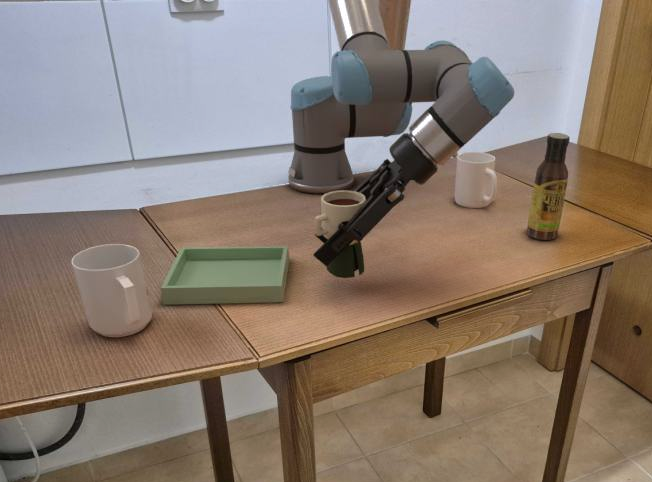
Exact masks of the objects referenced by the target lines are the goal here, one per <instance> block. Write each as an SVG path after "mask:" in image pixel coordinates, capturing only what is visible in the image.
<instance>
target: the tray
mask: <svg viewBox="0 0 652 482" xmlns="http://www.w3.org/2000/svg"><path fill="white" fill-rule="evenodd" d="M289 266H290V250H289V245H266V246H265V245H262V246H261V245H259V246H257V245H256V246H255V245H253V246H191V247H189V246H186V247H185V246H184V247H180V249H179V252H178V253H177V255H176V256H175V258H174V261H173V263H172V265H171V266H170V269H169V271H168V273H167V275H166V276H165V279H164V280H163V282H162V284H161V286H160V293H161V297H162V300H163V301H162V302H163V305H165V306H169V305H171V306H172V305H215V304H217V305H218V304H220V305H221V304H259V303H260V304H263V303H266V304H267V303H283V302H284V298H285V291H286V286H287V279H288V272H289Z"/></svg>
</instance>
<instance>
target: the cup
mask: <svg viewBox="0 0 652 482" xmlns="http://www.w3.org/2000/svg"><path fill="white" fill-rule="evenodd" d="M495 167H496V156H494V155H492V154H491V153H486V152H481V151H466V152H462V153H458V156H457V157H456V167H455V168H456V169H455V185H454V202H455V203H456V204H457V205H458V206H460V207H463V208H468V209H481V208H486V207H488V206H489V205H490V204H491V203H492V202H494V201H495V199H496V197H497V194H498V193H497V191H498V177H497V174H496V172H495V169H496V168H495Z"/></svg>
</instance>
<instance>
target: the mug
mask: <svg viewBox="0 0 652 482" xmlns="http://www.w3.org/2000/svg"><path fill="white" fill-rule="evenodd" d="M70 263H71V267H72V271H73V274H74V278H75V280H76V281H75V282H76V284H77V289H78V291H79V295H80V299H81V302H82V306H83V310H84V313H85V317H86V320H87V324H88V326H89V328H90V329H91V328H92V329H93V330H92V329H91V330H92V331H94V330H95V331H94V332H95V333H97V334H99V335H101V336H103V337H107V338H122V337H128V336H132V335H135V334H136V333H137V334H138V333H139V332H141V331H142V330H145V328H146V327H147V326H148V325H149V323H150V321H152V318H153V308H152V304H151V299H150V294H149V290H148V286H147V280H146V276H145V271H144V266H143V262H142V258H141V253H140V251H139V249H138V248H136V247H135V246H132V245H130V244H124V243H123V244H122V243H109V244H108V243H107V244H100V245H95V246H92V247H89V248H85V249H82V250H81V251H79V252H78V253H75V255H74V256H72V258H71V260H70ZM96 331H97V332H96ZM98 332H100V333H98ZM103 333H107V334H103ZM119 333H121V334H119Z"/></svg>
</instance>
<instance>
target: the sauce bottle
mask: <svg viewBox="0 0 652 482" xmlns="http://www.w3.org/2000/svg"><path fill="white" fill-rule="evenodd" d="M570 138H571V136H570V135H568V134H565V133H562V132H551V133H548V134H547V139H546V150H545V155H544V159H543V161H542V162H541V163H540V165H539V166H538V167H537V168H536V173H535V179H534V181H533V188H532V195H531V201H530V208H529V215H528V219H527V229H526V233H527V235H528V236H529V237H531V238H533V239H536V240H540V241H550V240H553V239H556V238H557V237H558V231H559V229H560V225H561V219H562V213H563V209H564V203H565V197H566V193H567V188H568V181H569V179H568V178H569V170H568V167H567V165H566V163H565V162H566V154H567V149H568V145H569V144H570Z"/></svg>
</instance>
